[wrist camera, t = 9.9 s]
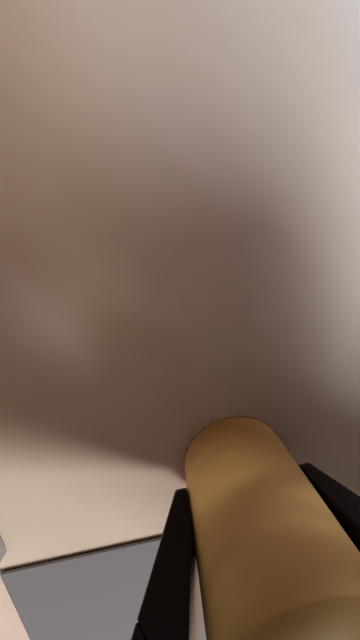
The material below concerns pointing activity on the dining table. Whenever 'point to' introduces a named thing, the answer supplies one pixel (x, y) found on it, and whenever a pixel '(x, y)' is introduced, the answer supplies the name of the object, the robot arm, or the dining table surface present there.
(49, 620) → the charcoal pad
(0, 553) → the plate
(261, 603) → the ochre peg
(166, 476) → the dining table surface
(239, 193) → the dining table surface
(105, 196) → the dining table surface
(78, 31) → the dining table surface
